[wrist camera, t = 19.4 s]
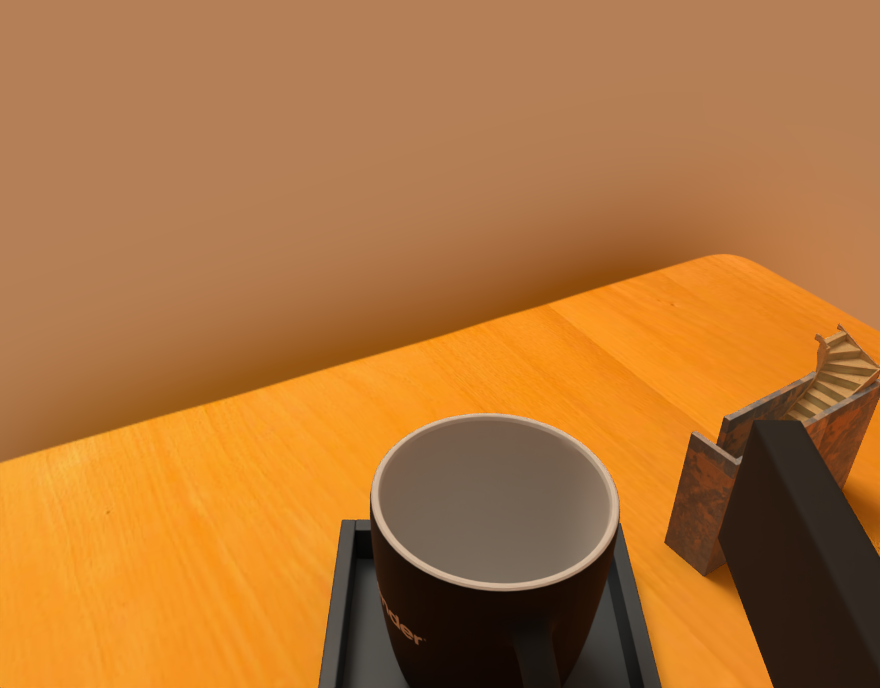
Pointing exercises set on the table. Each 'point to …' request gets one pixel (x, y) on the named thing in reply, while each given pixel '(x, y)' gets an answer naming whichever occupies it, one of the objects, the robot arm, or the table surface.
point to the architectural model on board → (808, 400)
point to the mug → (491, 551)
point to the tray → (374, 663)
